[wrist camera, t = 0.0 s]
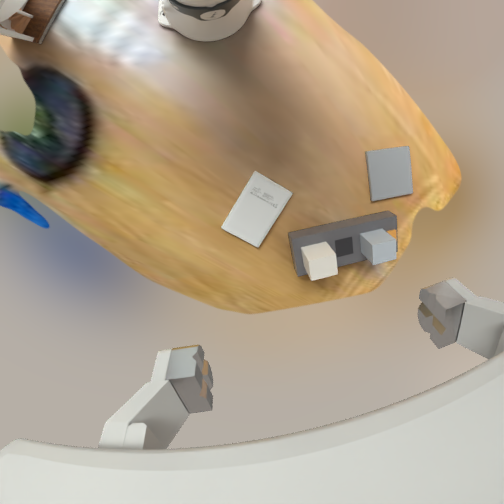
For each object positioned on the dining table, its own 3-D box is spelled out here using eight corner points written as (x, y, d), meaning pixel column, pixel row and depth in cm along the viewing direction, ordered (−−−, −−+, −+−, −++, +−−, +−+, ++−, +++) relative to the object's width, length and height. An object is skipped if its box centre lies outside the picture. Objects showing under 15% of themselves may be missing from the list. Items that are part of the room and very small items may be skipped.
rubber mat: (365, 151, 55) (366, 152, 54) (407, 146, 54) (409, 146, 54) (370, 200, 59) (372, 201, 58) (410, 192, 58) (412, 193, 58)
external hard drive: (221, 225, 59) (254, 169, 55) (257, 244, 61) (291, 191, 58) (221, 228, 58) (255, 171, 54) (258, 248, 60) (293, 193, 56)
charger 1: (298, 243, 60) (308, 260, 52) (323, 237, 59) (336, 254, 52) (301, 261, 61) (311, 280, 54) (325, 255, 61) (337, 274, 54)
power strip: (287, 232, 60) (292, 240, 56) (388, 210, 60) (397, 216, 56) (294, 268, 63) (298, 278, 60) (389, 245, 63) (398, 252, 59)
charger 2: (359, 233, 57) (372, 245, 52) (382, 228, 57) (396, 239, 52) (361, 252, 59) (373, 265, 54) (382, 246, 59) (396, 258, 54)
